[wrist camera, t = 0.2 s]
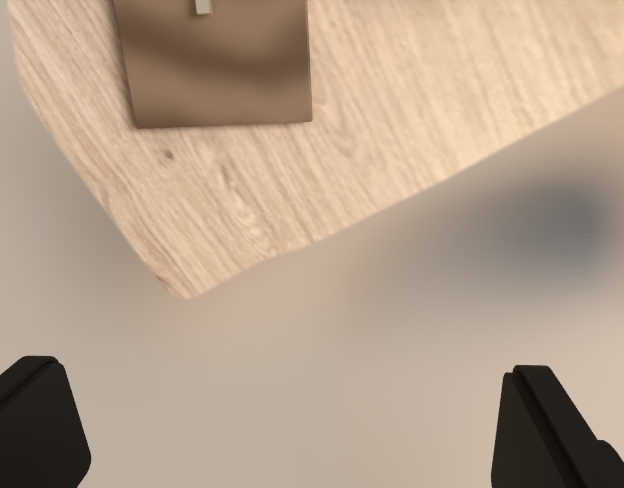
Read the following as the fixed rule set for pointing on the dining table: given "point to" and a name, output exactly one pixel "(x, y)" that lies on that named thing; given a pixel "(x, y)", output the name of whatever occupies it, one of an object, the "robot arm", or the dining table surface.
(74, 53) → the dining table surface
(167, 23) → the board
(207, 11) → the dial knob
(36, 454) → the robot arm
